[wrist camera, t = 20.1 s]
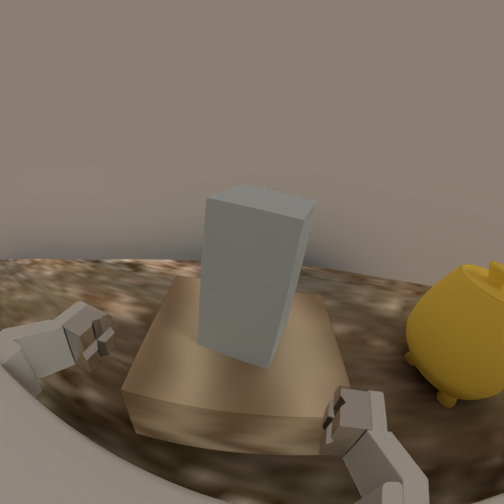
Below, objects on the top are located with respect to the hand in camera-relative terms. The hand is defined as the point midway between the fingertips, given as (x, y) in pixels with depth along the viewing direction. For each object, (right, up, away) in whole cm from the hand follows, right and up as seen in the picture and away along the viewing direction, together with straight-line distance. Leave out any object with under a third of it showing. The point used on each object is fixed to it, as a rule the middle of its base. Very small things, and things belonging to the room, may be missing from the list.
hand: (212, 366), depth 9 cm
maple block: (0, -8, +14) cm, 16 cm away
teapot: (+26, -10, +16) cm, 33 cm away
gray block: (+1, -2, +11) cm, 11 cm away
